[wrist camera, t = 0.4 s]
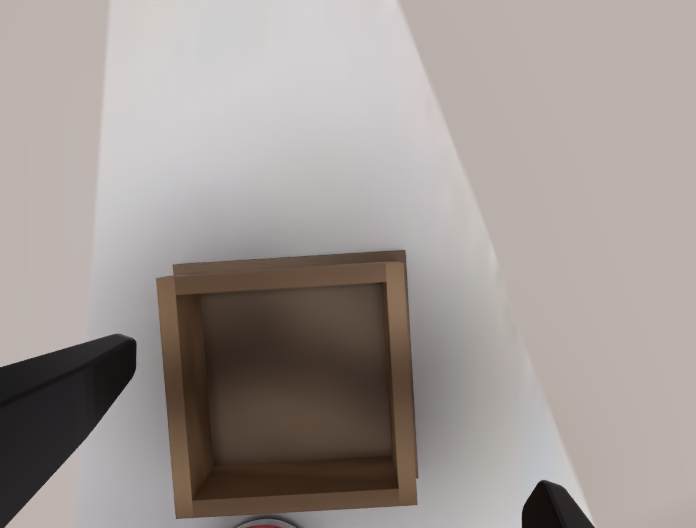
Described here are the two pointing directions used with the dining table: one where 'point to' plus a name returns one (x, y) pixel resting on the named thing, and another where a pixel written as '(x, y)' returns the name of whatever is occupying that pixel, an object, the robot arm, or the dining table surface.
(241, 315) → the walnut socket
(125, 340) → the robot arm
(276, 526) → the pill bottle
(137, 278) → the dining table surface
